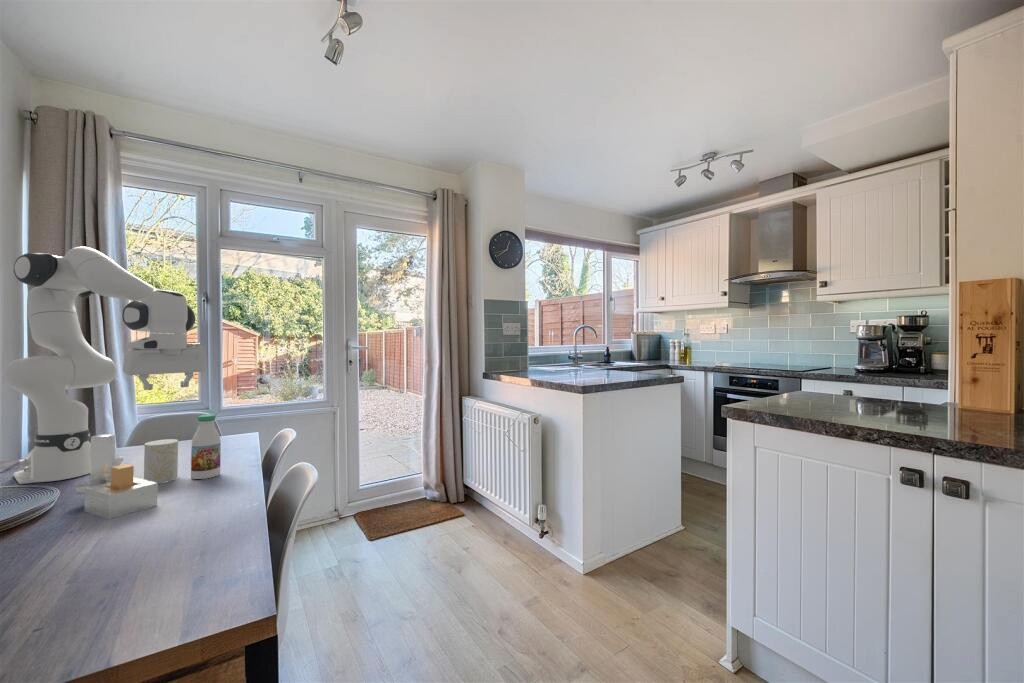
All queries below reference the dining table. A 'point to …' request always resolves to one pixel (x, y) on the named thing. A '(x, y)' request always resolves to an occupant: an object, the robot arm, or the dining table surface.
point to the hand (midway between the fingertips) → (167, 388)
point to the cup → (161, 460)
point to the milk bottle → (205, 449)
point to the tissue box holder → (99, 488)
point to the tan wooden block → (122, 476)
